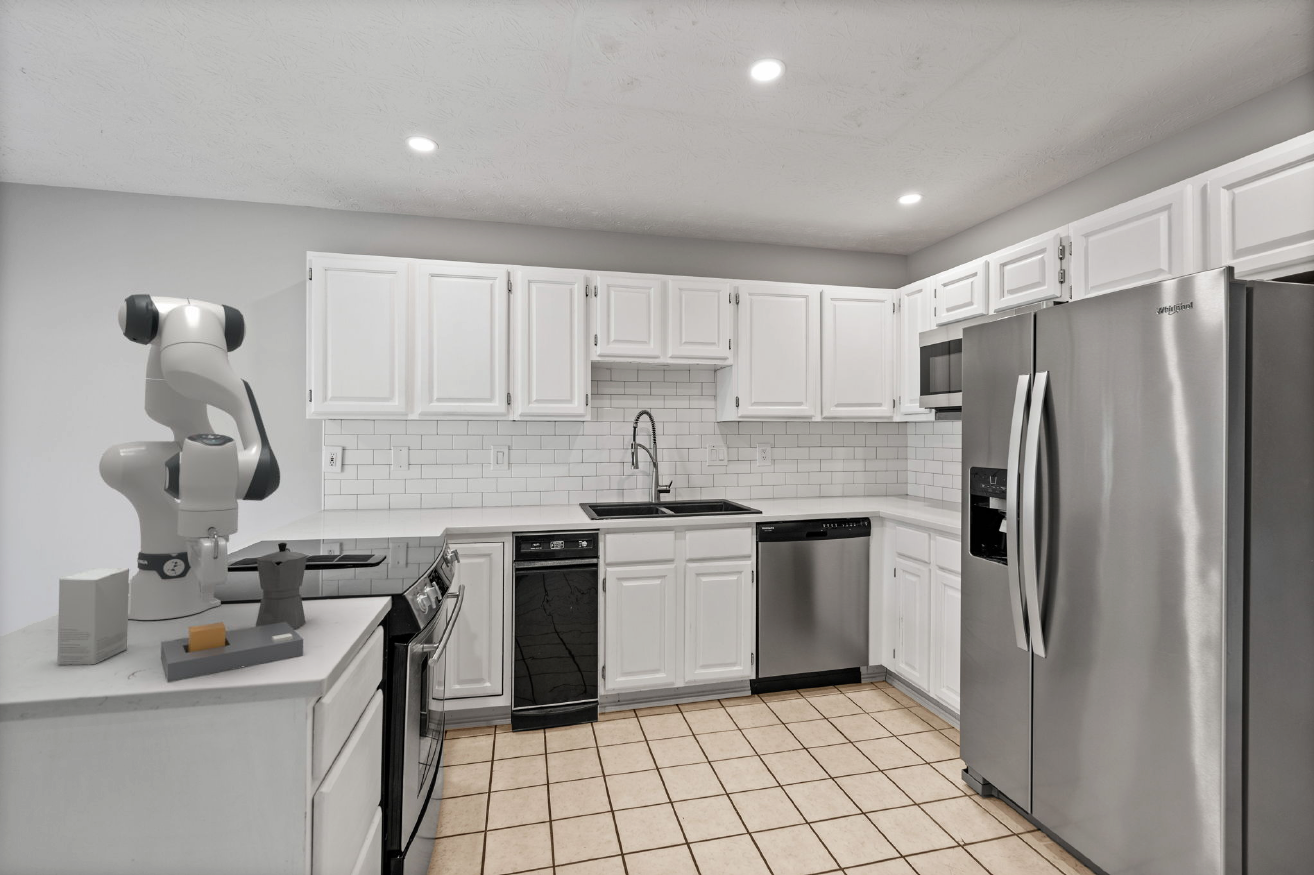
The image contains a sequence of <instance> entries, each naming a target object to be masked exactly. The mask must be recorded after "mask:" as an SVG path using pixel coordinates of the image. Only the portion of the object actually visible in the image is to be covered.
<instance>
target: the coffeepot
mask: <svg viewBox="0 0 1314 875" xmlns="http://www.w3.org/2000/svg"><path fill="white" fill-rule="evenodd" d="M277 545H278V546H277V547H278V551H276V552H272V553H269V554H268V553H267V554H266V555H262V556H259V557H256V565H257V571H258V578H259V585H260V589H261V590H262V591H263V592H262V594H263V595H262V598H261V599H260V604H259V608H258V613H257V618H256V623H255V627H257V626H263V625H270V624H276V623H282V622H287V623H288V624H289V625H290V626H291V627H292V628H293V629H294V630H297V629H300V628H302V627H303V626H304V625H305V624H306V616H305V612H304V611H305V610H304V606H303V601H302V595H301V594H300V587H301V586H303V580H304V574H305V571H306V564H307V560H308V554H304V553H302V552H297V551H291V550H290V548H288V547H287V545H288V543H286V542H280V543H277Z"/></svg>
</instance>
